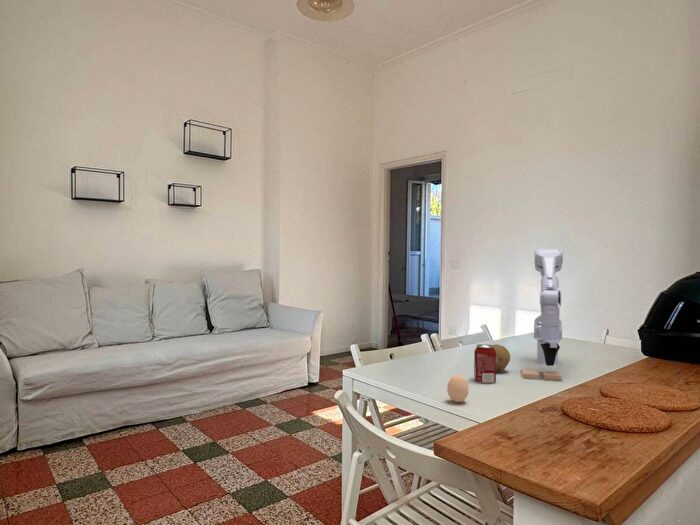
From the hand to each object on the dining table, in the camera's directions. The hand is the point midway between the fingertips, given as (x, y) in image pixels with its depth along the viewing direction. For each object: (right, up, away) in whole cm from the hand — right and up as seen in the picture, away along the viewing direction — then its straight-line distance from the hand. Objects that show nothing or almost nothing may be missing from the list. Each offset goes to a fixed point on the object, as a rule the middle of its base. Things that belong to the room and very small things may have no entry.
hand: (549, 365), depth 155 cm
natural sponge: (-16, -4, +6) cm, 18 cm away
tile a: (-6, -3, +2) cm, 7 cm away
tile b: (0, -3, 0) cm, 3 cm away
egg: (-38, -4, -27) cm, 47 cm away
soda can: (-24, -4, -7) cm, 25 cm away
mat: (-3, -4, 0) cm, 5 cm away
